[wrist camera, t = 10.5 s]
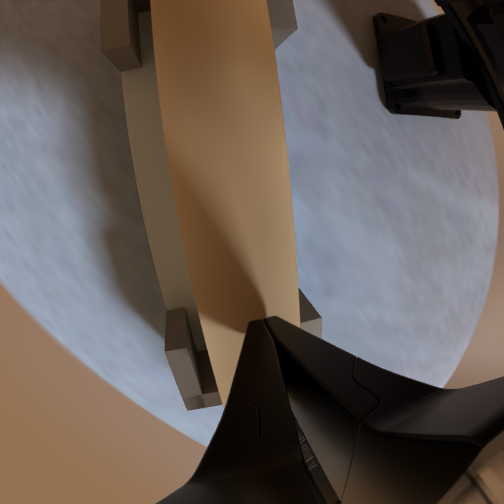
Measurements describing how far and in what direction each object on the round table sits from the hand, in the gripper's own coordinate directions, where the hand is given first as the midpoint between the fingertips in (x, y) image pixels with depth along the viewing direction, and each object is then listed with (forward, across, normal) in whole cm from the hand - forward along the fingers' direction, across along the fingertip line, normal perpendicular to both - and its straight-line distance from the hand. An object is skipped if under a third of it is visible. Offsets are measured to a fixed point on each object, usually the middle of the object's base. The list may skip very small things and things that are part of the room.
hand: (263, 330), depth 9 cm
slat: (+7, 0, -4) cm, 8 cm away
